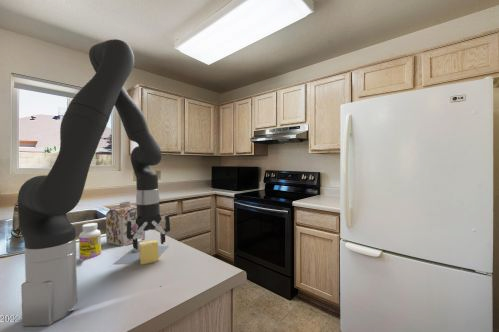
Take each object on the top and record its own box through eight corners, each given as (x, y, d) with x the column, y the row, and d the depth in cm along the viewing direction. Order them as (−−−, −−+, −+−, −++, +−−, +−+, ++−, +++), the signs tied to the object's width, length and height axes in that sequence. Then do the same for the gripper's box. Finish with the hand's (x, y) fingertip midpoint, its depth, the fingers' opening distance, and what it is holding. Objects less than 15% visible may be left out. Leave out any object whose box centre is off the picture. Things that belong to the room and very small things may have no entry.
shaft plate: (153, 266, 78) (153, 251, 78) (113, 267, 78) (112, 252, 77) (169, 248, 94) (169, 236, 94) (135, 249, 94) (135, 236, 93)
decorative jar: (129, 235, 111) (128, 199, 111) (146, 238, 106) (145, 200, 106) (105, 243, 100) (104, 203, 100) (122, 247, 95) (121, 205, 95)
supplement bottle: (76, 263, 81) (75, 227, 81) (84, 255, 88) (83, 222, 87) (97, 260, 83) (96, 226, 83) (103, 253, 89) (103, 221, 89)
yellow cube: (158, 260, 80) (158, 243, 80) (141, 264, 77) (140, 246, 77) (155, 255, 85) (155, 239, 84) (139, 258, 82) (139, 242, 82)
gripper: (166, 197, 87) (167, 239, 88) (124, 202, 80) (126, 247, 81) (171, 201, 81) (172, 245, 82) (125, 206, 73) (127, 254, 74)
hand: (149, 246), depth 81 cm, fingers open, 8 cm apart
